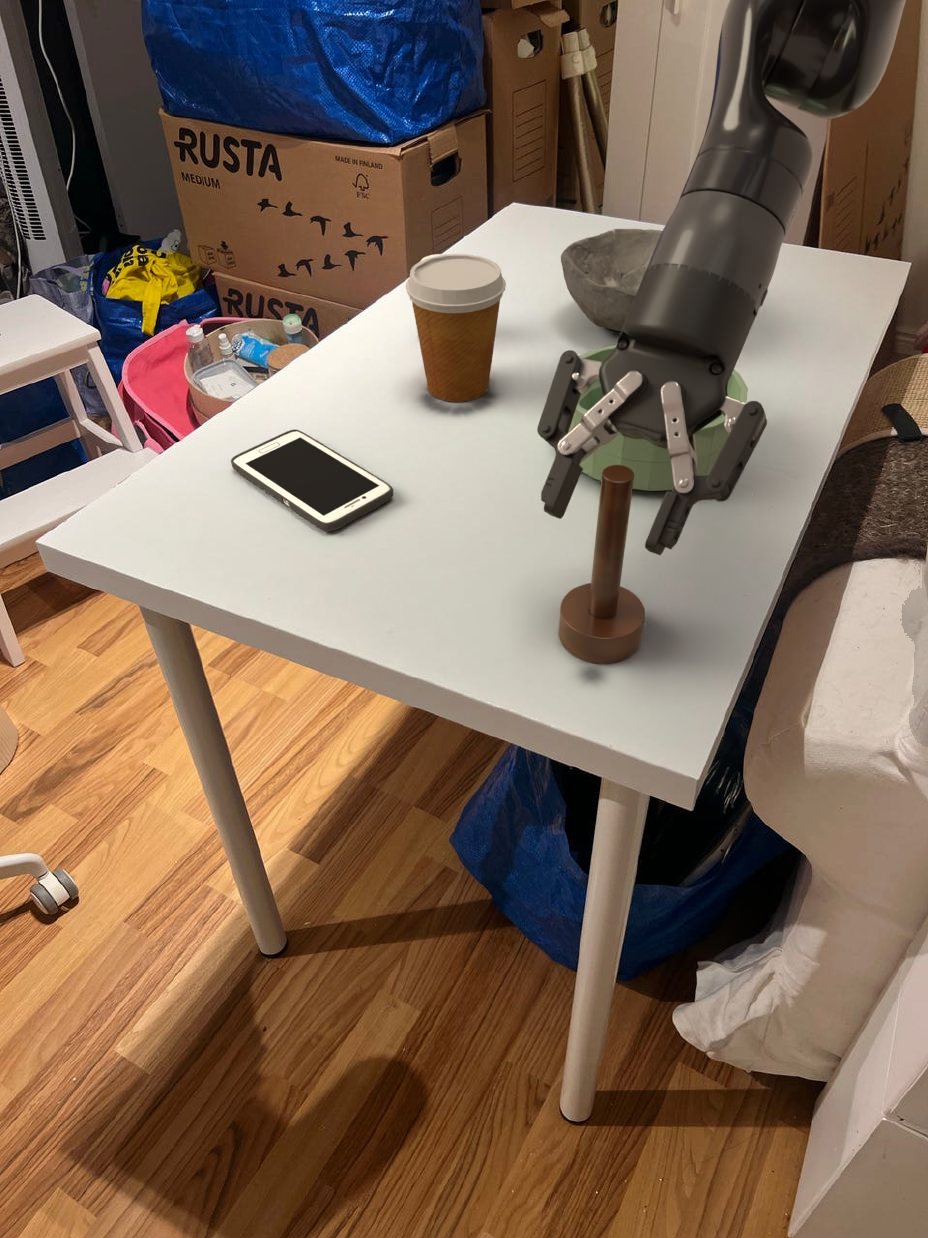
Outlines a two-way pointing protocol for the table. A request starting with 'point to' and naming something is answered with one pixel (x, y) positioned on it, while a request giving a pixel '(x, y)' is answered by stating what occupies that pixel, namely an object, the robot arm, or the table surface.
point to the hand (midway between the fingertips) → (601, 532)
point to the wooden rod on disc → (605, 585)
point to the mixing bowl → (640, 453)
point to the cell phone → (312, 479)
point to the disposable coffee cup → (456, 322)
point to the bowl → (608, 272)
